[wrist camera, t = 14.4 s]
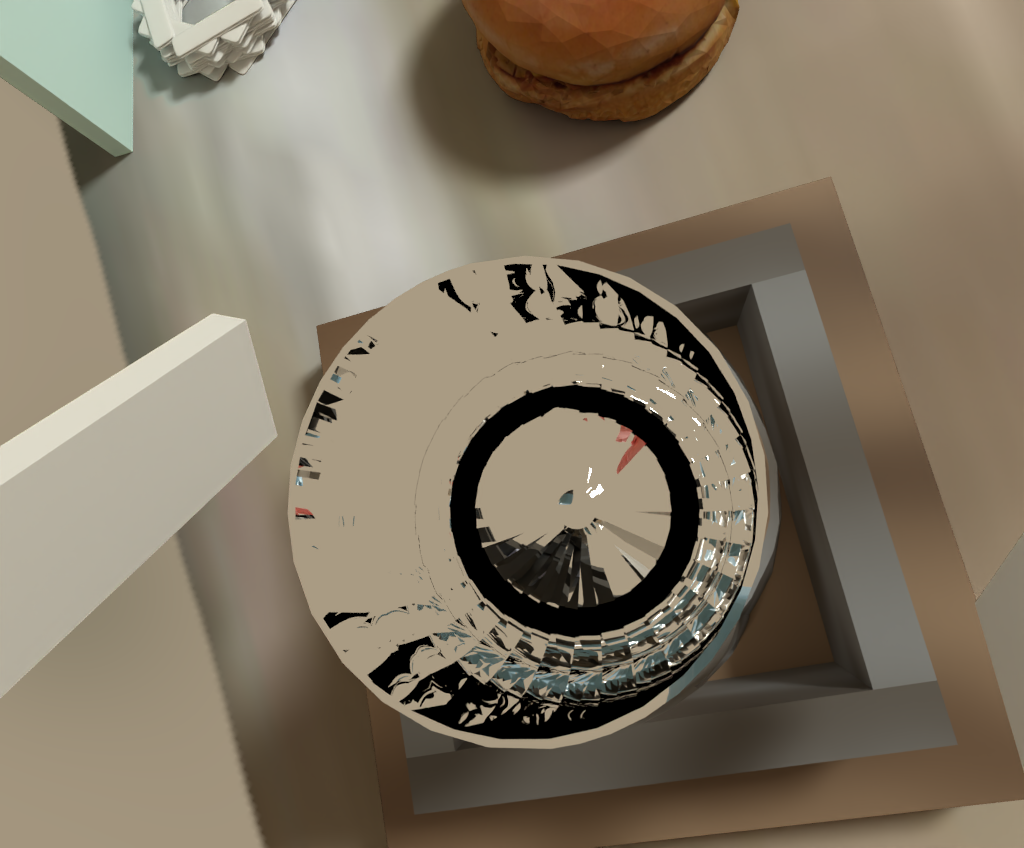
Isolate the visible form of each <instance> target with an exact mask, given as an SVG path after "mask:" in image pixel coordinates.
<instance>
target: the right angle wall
mask: <svg viewBox="0 0 1024 848" xmlns="http://www.w3.org/2000/svg"><path fill="white" fill-rule="evenodd" d="M295 1H296V0H235V1H233V2H231V3H230V4H228V5H226V6H225V7H223V8H222V9H220V10H218V11H217V12H215V13H213V14H212V15H210V16H208V17H207V18H205V19H203V20H202V21H200V22H198V23H197V24H195V25H191V24H188V23H184V22H182V9H183V8H184V6H185V5H186V3H187V2H188V0H134V1H133V0H0V77H1V78H2V79H4V80H5V81H6V82H8V83H9V84H11V85H12V86H14V87H15V88H17V89H18V90H19V91H21V92H22V93H24V94H25V95H27V96H28V97H30V98H31V99H32V100H34V101H35V102H37V103H38V104H40V105H41V106H42V107H44V108H45V109H47V110H48V111H50V112H51V113H53V114H54V115H55V116H57V117H58V118H60V119H61V120H63V121H64V122H65V123H67V124H68V125H70V126H71V127H73V128H74V129H76V130H77V131H78V132H80V133H81V134H83V135H84V136H86V137H87V138H88V139H90V140H91V141H93V142H94V143H96V144H97V145H99V146H100V147H101V148H103V149H104V150H106V151H107V152H109V153H110V154H112V155H113V156H114V157H117V156H120V155H124V154H127V153H131V152H133V10H134V11H135V12H137V13H140V14H141V15H142V16H143V19H142V22H141V24H140V26H139V30H138V33H139V34H140V35H141V36H143V37H146V38H149V39H150V42H149V43H150V45H152V46H154V47H155V48H156V49H157V50H158V51H159V50H160V53H161V56H162V60H164V62H167V63H168V65H169V66H170V67H171V66H174V65H176V64H177V69H178V75H180V77H186V76H189V75H192V74H196V73H201V74H202V75H204V76H206V77H208V78H210V79H211V80H213V81H218V80H219V79H220V78H221V77H222V75H223V73H224V72H225V70H226V68H227V66H228V64H229V67H230V68H231V69H233V70H234V71H236V72H238V73H239V74H242V75H244V74H246V72H247V71H248V70H249V68H250V67H251V65H252V64H253V62H254V61H255V59H256V58H257V56H258V55H260V54H262V53H263V52H264V51H265V45H266V43H267V42H268V40H269V39H270V37H271V36H272V34H273V33H274V31H275V30H276V29H277V27H278V26H280V24H281V21H282V20H283V18H284V17H285V15H286V14H287V12H288V11H289V10H290V8H291V7H292V5H293V4H294V2H295Z"/></svg>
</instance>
